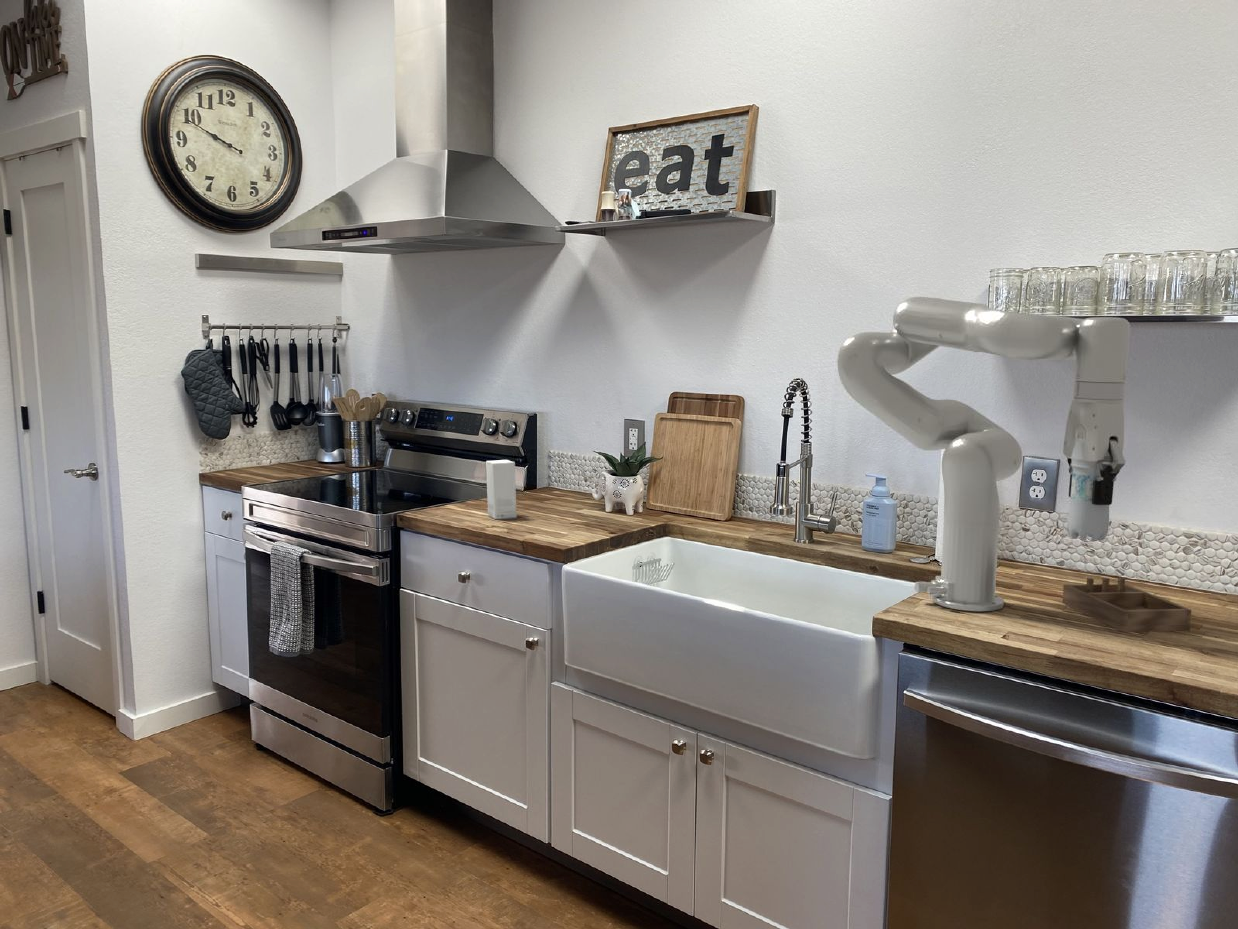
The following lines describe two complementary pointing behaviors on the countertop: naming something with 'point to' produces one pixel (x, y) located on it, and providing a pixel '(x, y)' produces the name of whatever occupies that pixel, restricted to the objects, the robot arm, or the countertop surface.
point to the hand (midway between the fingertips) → (1089, 500)
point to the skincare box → (501, 489)
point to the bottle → (1085, 500)
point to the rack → (1126, 607)
